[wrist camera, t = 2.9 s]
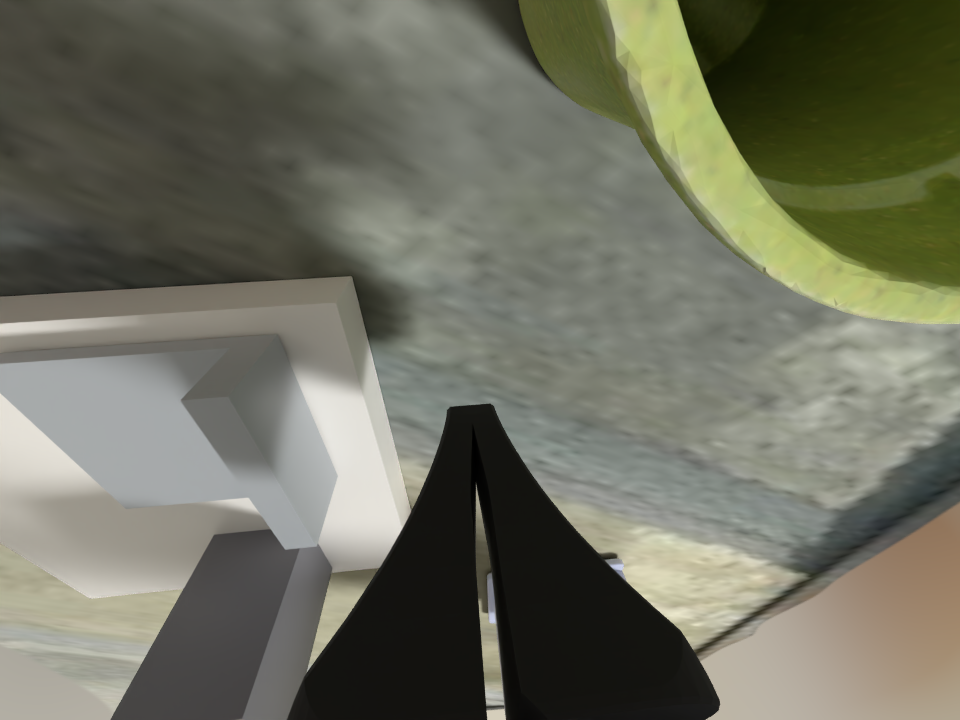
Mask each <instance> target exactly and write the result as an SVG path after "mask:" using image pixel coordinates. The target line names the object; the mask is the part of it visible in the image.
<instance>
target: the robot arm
mask: <svg viewBox="0 0 960 720" xmlns="http://www.w3.org/2000/svg"><path fill="white" fill-rule="evenodd" d="M476 485H477V490H478V496H479V501H480V507H481V512H482V518H483V523H484V529H485V534H486V540H487V545H488V550H489V557H490V563H491V571H492V572H491V573H489V574H488V575H487V592H488V618H489V622H490V623H496V630H497V640H498V649H499V659H500V668H501V678H502V687H503V697H504V706H505V715H506V720H706V719H707V718H709V717H711V716H712V715H714V714H715V713H716V712H717V711H718V710H719V706H720V701H719V698H718V696H717V694H716V691H715V689H714V687H713V685H712V683H711V681H710V679H709V677H708V675H707V673H706V671H705V670H704V668H703V666H702V664H701V663H700V661H699V659H698V658H697V656H696V654H695V652H694V651H693V649H692V648H691V646H690V644H689V643H688V641H687V640H686V638H685V637H684V635H683V634H682V632H681V631H680V630H679V629H678V628H677V627H676V626H675V625H674V624H673V623H671V622H670V621H669V620H668V619H667V618H666V617H665V616H663V615H662V614H661V613H660V612H659V611H658V610H657V609H655V608H654V607H653V606H652V605H651V604H650V603H649V602H648V601H647V600H646V599H644V598H643V597H642V596H641V595H640V594H639V593H638V592H637V591H636V590H635V589H634V588H633V587H631V586H630V585H629V584H628V583H627V582H626V579H625V577H624V574H623V572H622V569H623V567H624V564H623V561H622V560H621V559H619V558H616V559H607V560H604V559H603V558H602V557H601V556H600V555H599V554H598V553H597V552H596V551H595V550H594V549H593V547H592V546H591V545H590V544H589V543H588V542H587V541H586V540H585V539H584V538H583V537H582V536H581V535H580V534H579V533H578V532H577V531H576V529H575V528H574V527H573V526H572V525H571V524H570V523H569V521H568V520H567V519H566V518H565V517H564V516H563V514H562V513H561V512H560V511H559V510H558V508H557V507H556V506H555V505H554V503H553V502H552V501H551V500H550V498H549V497H548V496H547V495H546V493H545V492H544V491H543V489H542V488H541V487H540V485H539V484H538V482H537V481H536V480H535V478H534V477H533V475H532V474H531V473H530V471H529V470H528V468H527V467H526V465H525V464H524V462H523V461H522V459H521V457H520V456H519V454H518V453H517V451H516V449H515V448H514V446H513V445H512V443H511V441H510V439H509V438H508V436H507V434H506V432H505V430H504V428H503V426H502V424H501V422H500V420H499V418H498V416H497V413H496V411H495V408H494V406H493V405H492V404H480V405H468V406H455V407H450V408H449V409H448V410H447V417H446V422H445V426H444V430H443V434H442V437H441V441H440V444H439V447H438V450H437V453H436V455H435V458H434V461H433V464H432V466H431V469H430V471H429V474H428V476H427V478H426V481H425V483H424V485H423V488H422V490H421V492H420V495H419V497H418V499H417V501H416V503H415V505H414V507H413V509H412V511H411V513H410V515H409V517H408V519H407V521H406V523H405V525H404V527H403V528H402V530H401V532H400V534H399V536H398V537H397V539H396V541H395V543H394V544H393V546H392V548H391V550H390V551H389V553H388V555H387V556H386V558H385V560H384V561H383V563H382V565H381V566H380V568H379V570H378V571H377V573H376V574H375V576H374V577H373V579H372V580H371V582H370V583H369V585H368V587H367V588H366V590H365V591H364V593H363V594H362V596H361V597H360V599H359V600H358V602H357V603H356V605H355V606H354V608H353V609H352V611H351V612H350V614H349V615H348V617H347V618H346V620H345V621H344V622H343V624H342V625H341V627H340V628H339V629H338V631H337V632H336V633H335V635H334V636H333V637H332V639H331V640H330V642H329V643H328V644H327V646H326V647H325V648H324V650H323V651H322V653H321V654H320V655H319V657H318V658H317V659H316V661H315V662H314V663H313V665H312V666H311V668H310V669H309V670H308V672H307V673H306V675H305V676H304V678H303V681H302V683H301V685H300V687H299V690H298V692H297V695H296V697H295V699H294V702H293V704H292V707H291V710H290V712H289V715H288V718H287V720H487V712H486V698H485V685H484V671H483V658H482V645H481V631H480V618H479V604H478V591H477V577H476Z"/></svg>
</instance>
